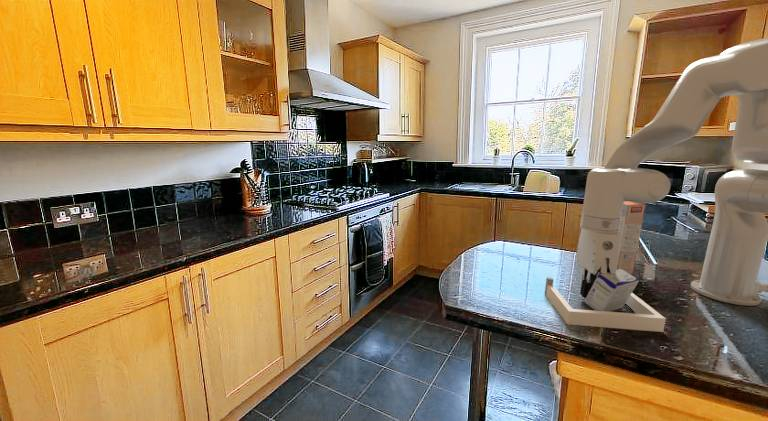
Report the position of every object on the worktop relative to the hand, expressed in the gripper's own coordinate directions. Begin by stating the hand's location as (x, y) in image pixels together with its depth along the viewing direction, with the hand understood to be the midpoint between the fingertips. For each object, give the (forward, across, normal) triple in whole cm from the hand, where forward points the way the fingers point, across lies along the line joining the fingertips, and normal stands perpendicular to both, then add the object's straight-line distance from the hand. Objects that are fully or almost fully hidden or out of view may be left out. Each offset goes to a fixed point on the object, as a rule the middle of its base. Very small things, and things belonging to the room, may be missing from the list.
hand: (588, 296), depth 80 cm
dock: (+1, -5, 0) cm, 5 cm away
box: (+1, -3, -2) cm, 4 cm away
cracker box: (+1, +25, -16) cm, 30 cm away
